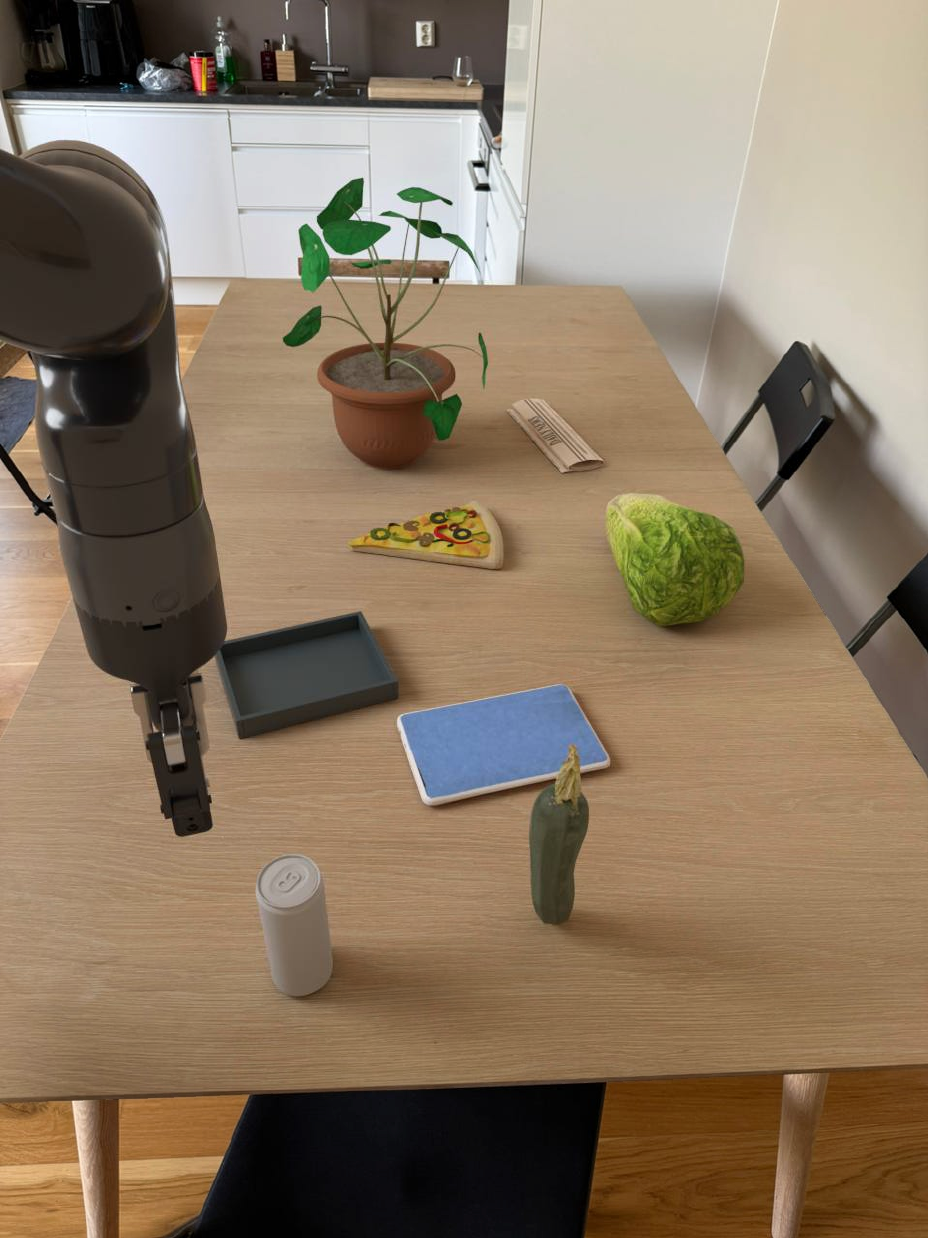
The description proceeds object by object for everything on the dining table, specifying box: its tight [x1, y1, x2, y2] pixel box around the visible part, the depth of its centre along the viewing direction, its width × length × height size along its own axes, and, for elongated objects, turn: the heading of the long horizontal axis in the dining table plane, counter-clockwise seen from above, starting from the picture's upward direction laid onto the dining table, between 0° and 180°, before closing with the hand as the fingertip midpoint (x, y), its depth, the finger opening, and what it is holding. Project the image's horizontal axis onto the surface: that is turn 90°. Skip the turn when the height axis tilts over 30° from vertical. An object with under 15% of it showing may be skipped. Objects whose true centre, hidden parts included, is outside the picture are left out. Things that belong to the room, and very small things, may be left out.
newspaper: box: [506, 398, 605, 474], centre depth 146 cm, size 24×7×2 cm, turn 19°
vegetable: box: [528, 744, 590, 926], centre depth 69 cm, size 4×4×20 cm
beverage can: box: [255, 853, 334, 997], centre depth 67 cm, size 5×5×12 cm
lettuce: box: [604, 492, 745, 628], centre depth 112 cm, size 14×24×14 cm
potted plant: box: [282, 177, 489, 470], centre depth 131 cm, size 31×29×40 cm
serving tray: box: [214, 610, 400, 740], centre depth 97 cm, size 17×13×2 cm
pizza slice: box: [347, 500, 504, 570], centre depth 119 cm, size 16×21×3 cm
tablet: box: [396, 683, 611, 807], centre depth 90 cm, size 19×13×1 cm, turn 107°
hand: (188, 778), depth 57 cm, fingers open, 8 cm apart
